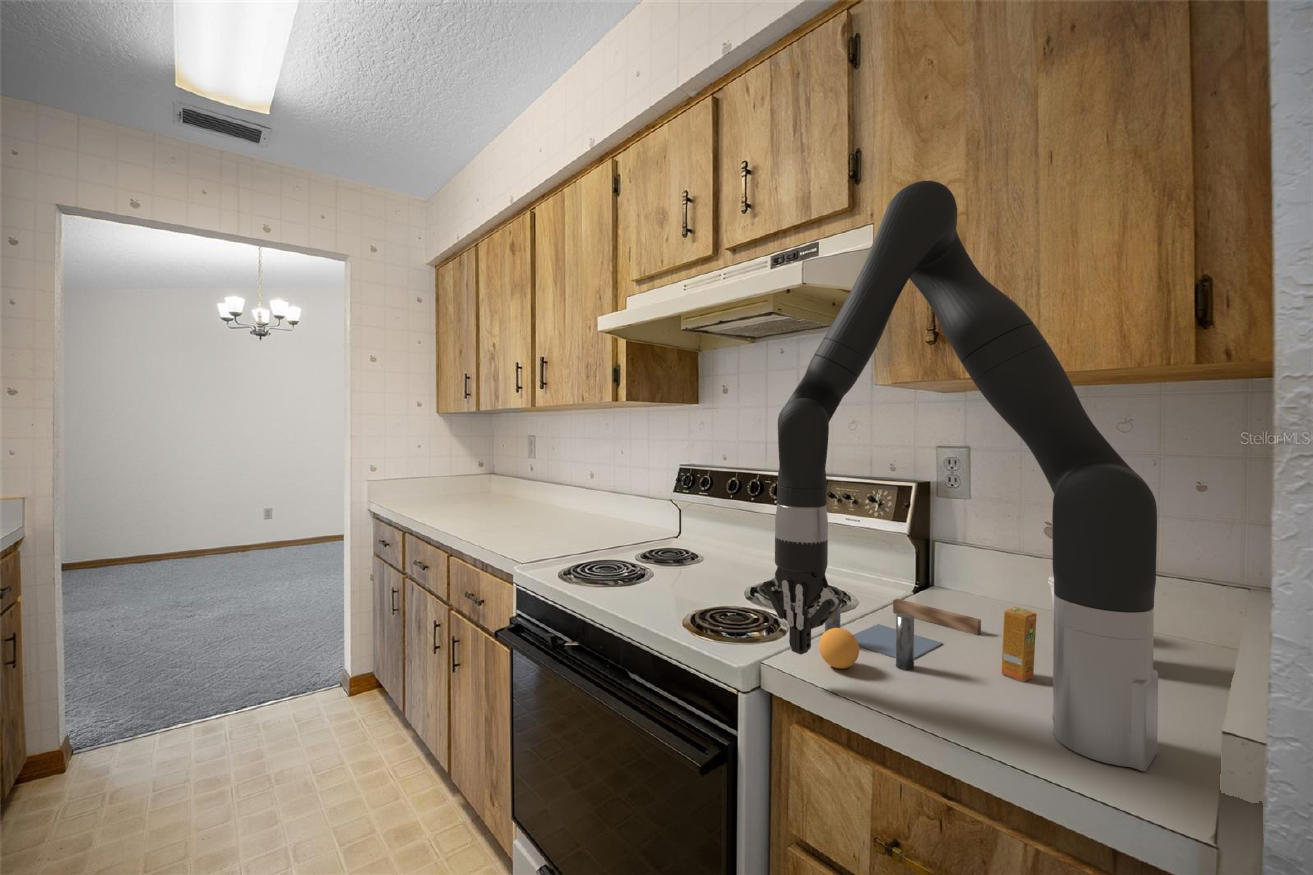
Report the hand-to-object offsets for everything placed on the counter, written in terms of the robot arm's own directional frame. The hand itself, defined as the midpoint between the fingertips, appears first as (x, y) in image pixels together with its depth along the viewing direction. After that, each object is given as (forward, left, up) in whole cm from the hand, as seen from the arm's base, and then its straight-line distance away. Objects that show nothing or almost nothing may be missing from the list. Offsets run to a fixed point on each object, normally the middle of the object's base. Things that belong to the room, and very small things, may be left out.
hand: (799, 651), depth 83 cm
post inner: (-7, -17, -5) cm, 19 cm away
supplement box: (-19, -27, -5) cm, 34 cm away
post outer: (+6, -17, -5) cm, 19 cm away
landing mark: (0, -25, -5) cm, 26 cm away
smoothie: (-18, -54, -5) cm, 58 cm away
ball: (0, -9, -2) cm, 9 cm away
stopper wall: (0, -41, -5) cm, 41 cm away
